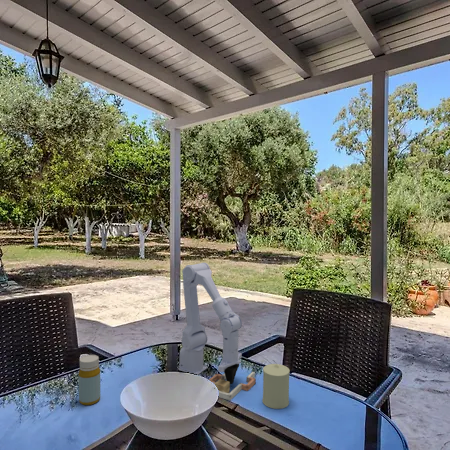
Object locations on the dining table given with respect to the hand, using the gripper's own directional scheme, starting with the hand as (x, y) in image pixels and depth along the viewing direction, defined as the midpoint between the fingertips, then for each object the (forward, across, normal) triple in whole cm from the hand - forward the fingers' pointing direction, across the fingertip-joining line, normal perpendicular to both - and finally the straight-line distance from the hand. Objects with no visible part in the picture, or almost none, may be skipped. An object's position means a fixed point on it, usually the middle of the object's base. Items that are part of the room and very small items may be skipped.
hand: (230, 383), depth 140 cm
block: (+1, -6, 0) cm, 6 cm away
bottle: (+1, -34, +37) cm, 50 cm away
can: (+1, -2, -19) cm, 19 cm away
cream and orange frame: (+1, +1, 0) cm, 1 cm away
